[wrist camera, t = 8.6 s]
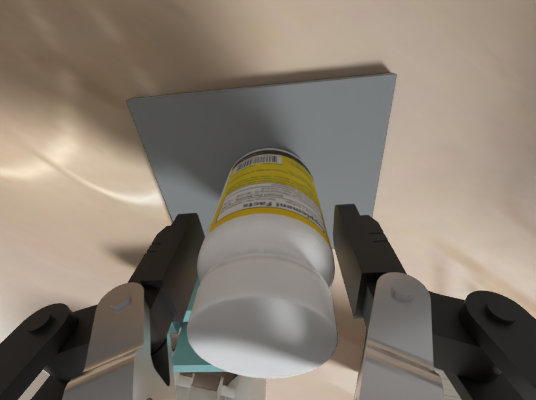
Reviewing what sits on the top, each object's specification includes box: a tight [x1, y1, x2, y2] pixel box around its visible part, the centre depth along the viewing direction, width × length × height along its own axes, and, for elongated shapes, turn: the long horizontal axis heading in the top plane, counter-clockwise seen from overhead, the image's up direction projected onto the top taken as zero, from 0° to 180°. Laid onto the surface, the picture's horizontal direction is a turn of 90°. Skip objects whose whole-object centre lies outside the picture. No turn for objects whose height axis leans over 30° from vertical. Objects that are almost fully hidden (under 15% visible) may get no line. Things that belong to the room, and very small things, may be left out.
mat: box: [126, 73, 397, 249], centre depth 14 cm, size 12×10×1 cm
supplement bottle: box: [187, 148, 338, 378], centre depth 10 cm, size 5×5×8 cm
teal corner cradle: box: [168, 277, 227, 372], centre depth 19 cm, size 8×8×4 cm
